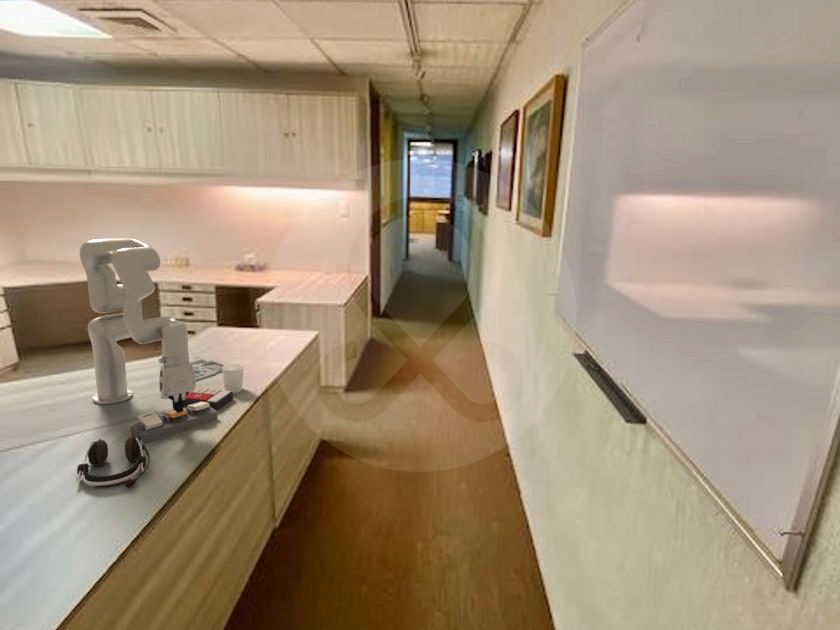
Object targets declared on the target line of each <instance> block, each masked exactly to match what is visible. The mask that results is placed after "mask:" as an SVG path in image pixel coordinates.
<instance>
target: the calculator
mask: <svg viewBox="0 0 840 630" xmlns="http://www.w3.org/2000/svg"><path fill="white" fill-rule="evenodd" d="M232 401H234V393H233V392H231V391H225V390H224V389H218V388H208V387H207V388H206V387H196V388H195V389H194V391H192V392H190V393H188V395H187V396H186V398H185V400H184V407H187V406H188V405H191V404H194V403H198V402H207V403H209V404H210V407H211V408H213V409H215V410H216V411H218V412H219V411H220V410H222V409H223V408H224V407H225V406H227V405H228V404H230V403H231V402H232Z"/></svg>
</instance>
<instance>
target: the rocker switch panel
mask: <svg viewBox="0 0 840 630" xmlns="http://www.w3.org/2000/svg"><path fill="white" fill-rule="evenodd" d="M206 403H207V402H206ZM209 406H210V404H209ZM184 409H185V410H186V411H187V414H184V415H181V416H178V417H175V418H169V416H167V415H166V414H164V413H163V414H162V415H157V416H158V417H159V418H160V419H161V420H162V425H161V426H158V427H155V428H152V429H148V430H146V429H145V427H144V425H143V424H142V423H141V422H140V421H138V422H136V423H134V424H130V425H129V428H130V429H129V430H130V435H132V436H134V437H139V436H140V437H141V438H142V443H143V445H144V444H146V443H149V442H154V441H155V440H158V439H162V438H165V437H168V436H170V435H173V434H177V433H180V432H182V431H187V430H188V429H191V428H195V427H197V426H200V425H201V426H202V425H204V424H207V423H209V422H212V421H215V420H218V418H219V417H218V413H219V411H216V410H215V409H213V408H211V407H207V408H204V409H201V410H197V411H194V410H192V409H191V408H189V407H187V406H186V408H184Z"/></svg>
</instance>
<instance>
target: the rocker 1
mask: <svg viewBox="0 0 840 630" xmlns="http://www.w3.org/2000/svg"><path fill="white" fill-rule="evenodd" d="M158 416H159V415H158V414H157V413H156V412H155V411H151V412H148V413H144V414H142V415H138V422H141V423H142V424H143V425H144V427H145V429H146V430H148V429H152V428H155V427H158V426H161V425H162V420H161V419H160V418H159V417H158Z"/></svg>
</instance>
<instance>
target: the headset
mask: <svg viewBox="0 0 840 630" xmlns="http://www.w3.org/2000/svg"><path fill="white" fill-rule="evenodd" d="M108 447H109V446H108V443H107V442H106V440H103V439H101V438H99V439H98V440H97V441H95V440H94V441H92V442H90V444H89V446H88V448H87V450H86V453H85V456H84V460H83V462H82V463H80V464H78V465H77V468H76V469H77V470H76V474H77V476H76V482H77V481H80V480H81V478H82V481H83V484H86V485H88V486H91V487H94V488H99V489H100V488H103V489H104V488H111V487H112V488H113V487H115V486H120V485H123V484H124V485H125V488H127V489H129V488H133V487H134V485H136V482H137V480H138V479H139V478H140V477H141V476H142V475H143V474H144V473H146V471H147V470H148V468H149V465H150V461H151V460H150V458H151V457H150V453H149V450H148V448H147V447H146V446H145V445H144V444H143V443H142V438H141V437H140V436H139V437H134V436H133V435H132V436H130V437H128V438H127V439H126V440H125V445H124V455H125V458H126V460H128V461H131V462H134V461H136V463H135V464H134V465H133V466H131V467H130V468H129V469H127V470H124V471H122V472H119V473H118V472H117V473H114V474H110V475H94V474H90V473H89V471H90V468H93V467H95V466H98V467H101V466H102V465H104V464H105V463H106V462H107V460H108V455H109V448H108ZM144 451H145V453H146V455H144ZM87 458H88V463H86V461H87ZM147 459H148V461H147ZM89 464H90V465H89ZM144 468H145V469H144ZM140 471H141V473H140V474H139V475H138V476H137V474H138V473H139V472H140ZM135 476H136V477H135Z"/></svg>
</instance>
